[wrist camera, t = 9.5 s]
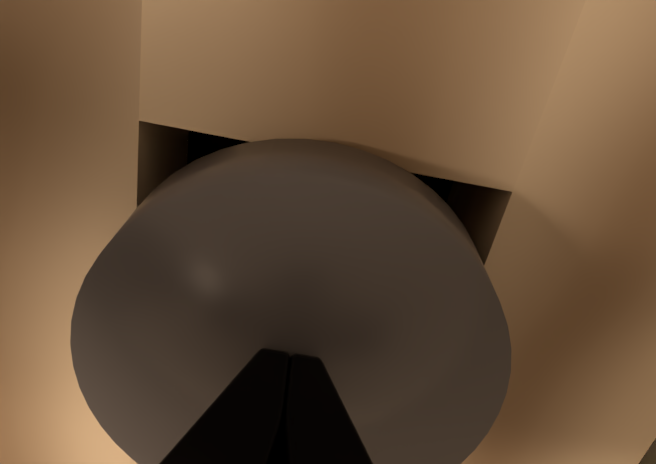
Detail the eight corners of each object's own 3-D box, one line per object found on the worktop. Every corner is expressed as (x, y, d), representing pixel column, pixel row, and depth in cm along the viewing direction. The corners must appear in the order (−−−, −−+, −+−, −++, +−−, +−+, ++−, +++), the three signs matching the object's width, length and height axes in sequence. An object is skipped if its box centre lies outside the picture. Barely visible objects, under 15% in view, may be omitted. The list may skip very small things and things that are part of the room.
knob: (161, 318, 13) (75, 488, 9) (176, 57, 10) (60, 130, 6) (409, 359, 13) (439, 540, 9) (491, 121, 10) (585, 229, 6)
